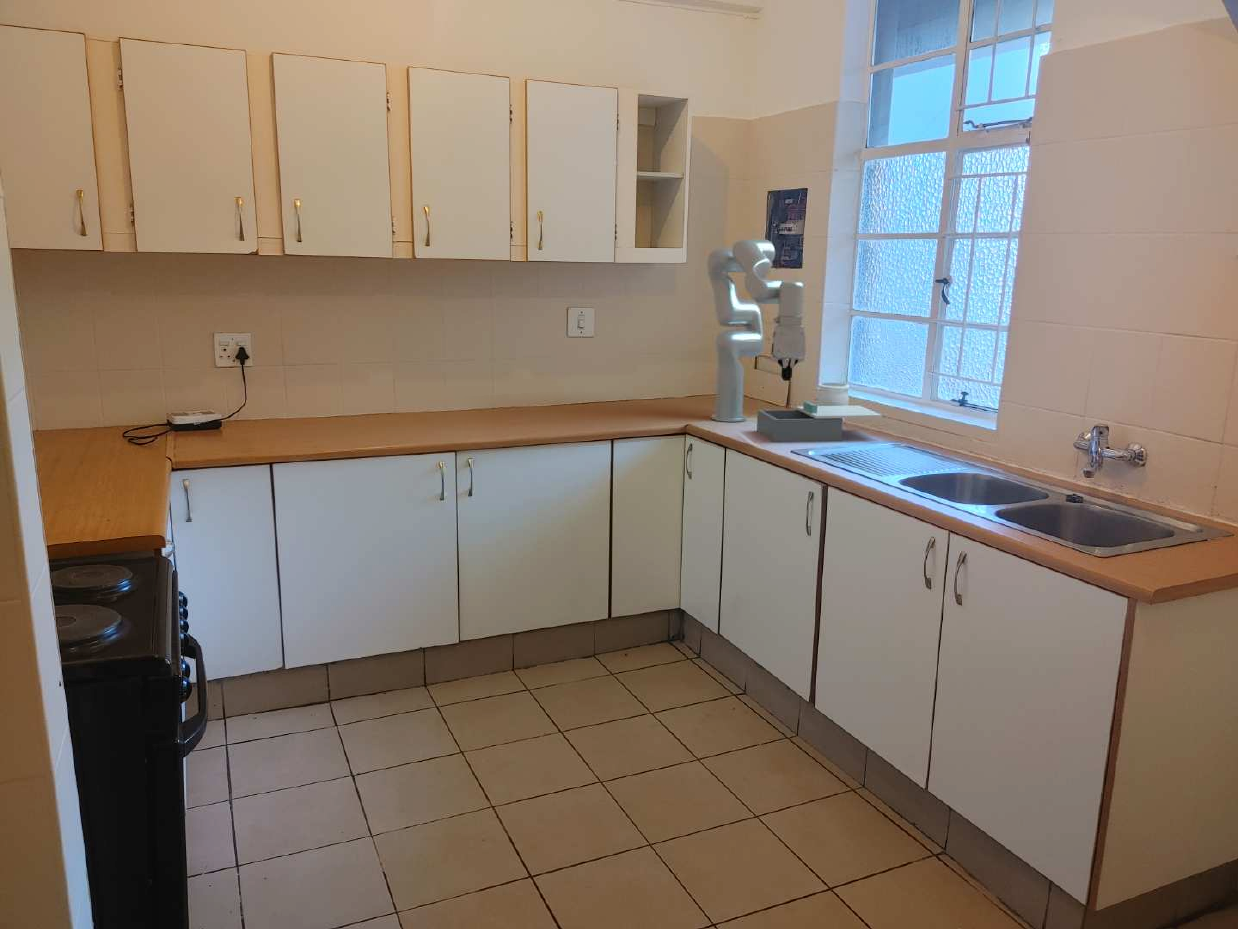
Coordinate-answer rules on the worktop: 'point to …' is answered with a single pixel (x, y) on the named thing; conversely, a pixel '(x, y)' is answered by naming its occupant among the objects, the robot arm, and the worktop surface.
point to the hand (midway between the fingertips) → (786, 380)
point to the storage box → (797, 426)
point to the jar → (833, 395)
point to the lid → (837, 411)
